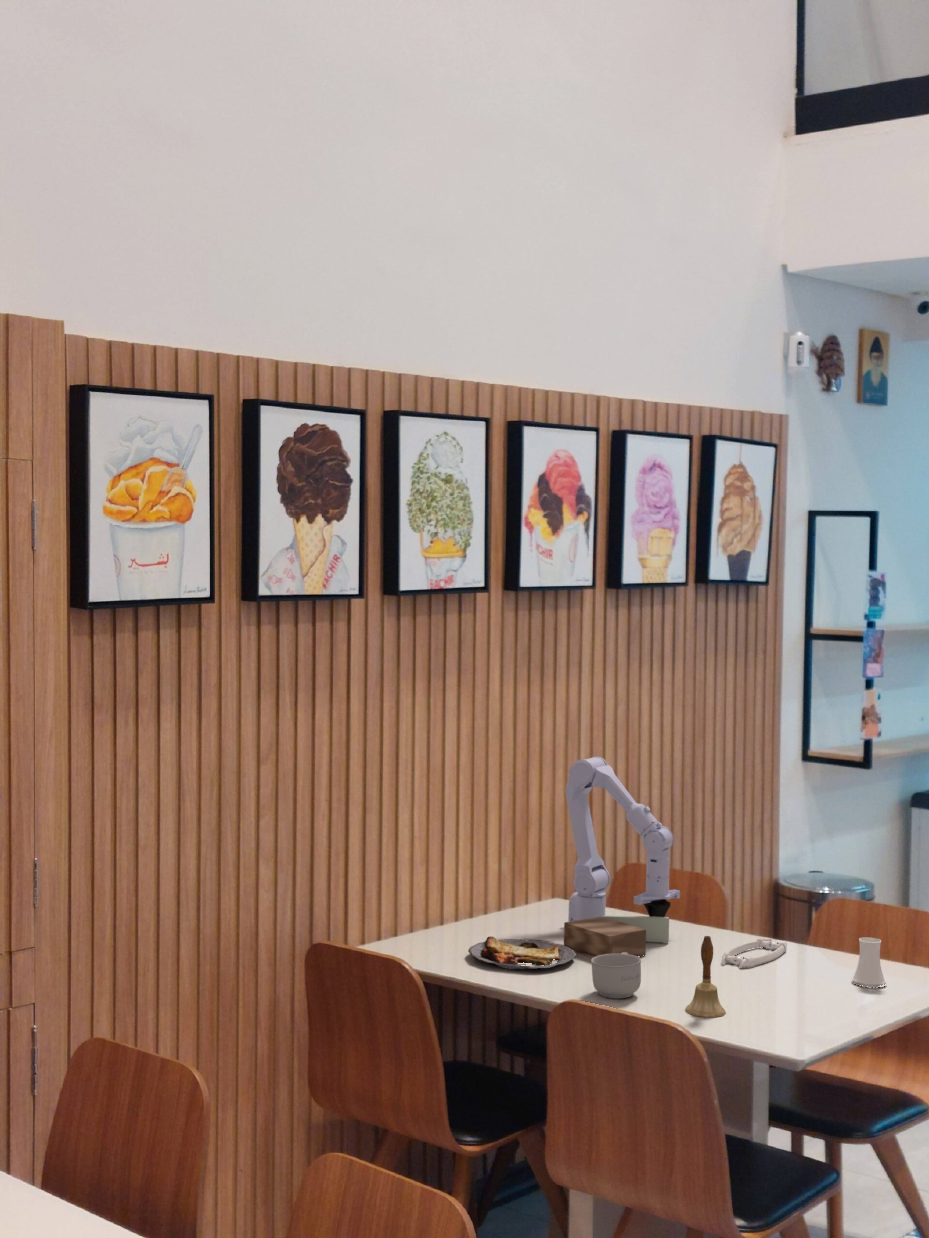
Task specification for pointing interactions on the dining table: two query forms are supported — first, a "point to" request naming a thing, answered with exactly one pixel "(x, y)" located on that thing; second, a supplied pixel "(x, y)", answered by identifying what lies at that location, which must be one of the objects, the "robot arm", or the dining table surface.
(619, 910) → the dining table surface
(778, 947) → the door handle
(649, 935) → the cabinet door
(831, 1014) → the dining table surface
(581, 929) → the brown wooden block
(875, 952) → the cooling tower model
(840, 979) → the dining table surface
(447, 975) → the dining table surface
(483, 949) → the food plate
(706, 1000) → the hand bell
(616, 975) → the teacup
